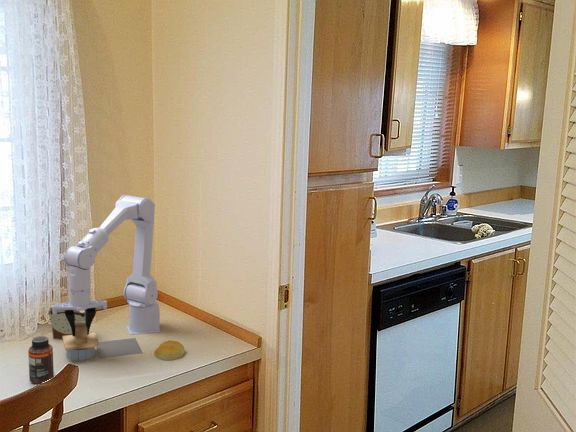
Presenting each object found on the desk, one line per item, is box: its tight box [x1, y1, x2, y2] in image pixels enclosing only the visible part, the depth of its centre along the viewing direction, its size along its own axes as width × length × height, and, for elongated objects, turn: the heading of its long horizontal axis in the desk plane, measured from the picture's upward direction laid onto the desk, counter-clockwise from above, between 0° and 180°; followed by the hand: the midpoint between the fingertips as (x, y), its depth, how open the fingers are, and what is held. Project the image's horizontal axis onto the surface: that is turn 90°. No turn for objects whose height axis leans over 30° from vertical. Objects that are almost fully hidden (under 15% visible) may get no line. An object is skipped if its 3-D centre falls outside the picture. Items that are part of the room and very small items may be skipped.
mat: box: [96, 337, 144, 359], centre depth 181 cm, size 12×12×1 cm
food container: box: [47, 306, 86, 341], centre depth 187 cm, size 12×6×10 cm, turn 84°
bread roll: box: [153, 339, 186, 361], centre depth 178 cm, size 8×9×4 cm
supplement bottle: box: [27, 335, 55, 385], centre depth 158 cm, size 6×6×11 cm
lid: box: [62, 321, 100, 351], centre depth 173 cm, size 9×9×5 cm
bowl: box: [65, 347, 96, 362], centre depth 174 cm, size 8×8×4 cm
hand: (80, 334), depth 173 cm, fingers closed on lid, 3 cm apart
